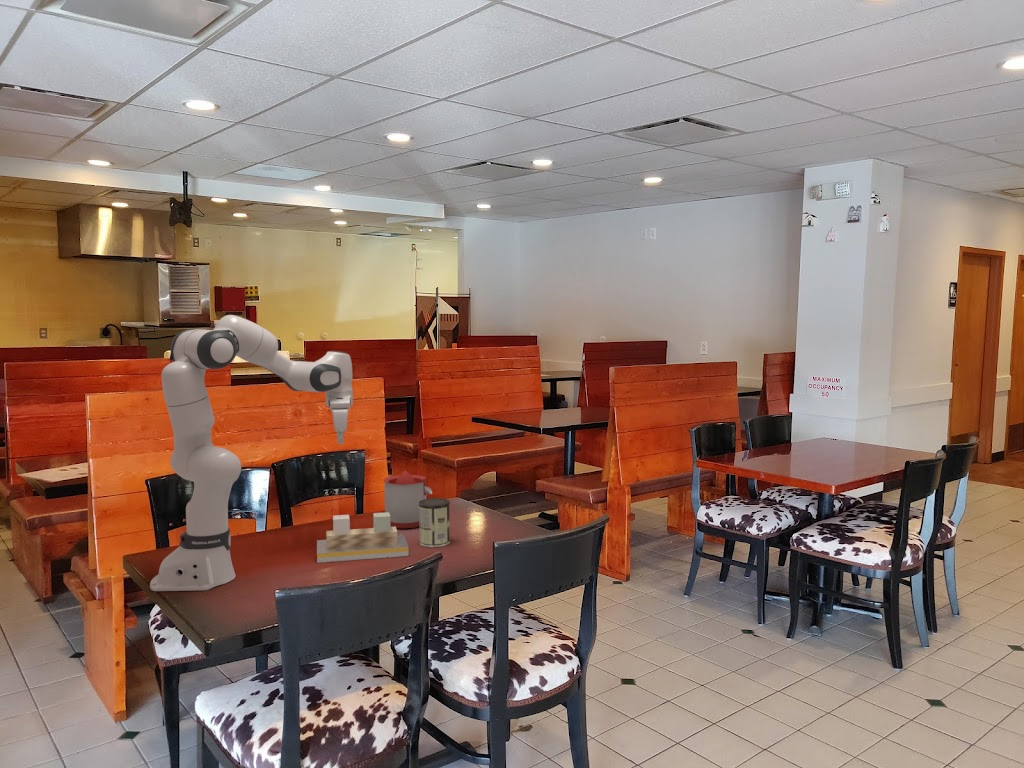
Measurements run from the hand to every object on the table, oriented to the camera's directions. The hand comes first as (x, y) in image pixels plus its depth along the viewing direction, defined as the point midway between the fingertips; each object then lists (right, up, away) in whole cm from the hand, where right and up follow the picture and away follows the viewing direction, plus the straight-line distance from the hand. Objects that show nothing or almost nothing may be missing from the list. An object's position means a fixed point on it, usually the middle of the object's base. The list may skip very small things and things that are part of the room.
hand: (340, 441), depth 253 cm
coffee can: (+31, -34, +3) cm, 46 cm away
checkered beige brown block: (+9, -32, -8) cm, 34 cm away
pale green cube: (+15, -28, -7) cm, 32 cm away
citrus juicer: (+19, -32, +24) cm, 45 cm away
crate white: (+3, -28, -10) cm, 30 cm away
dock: (+9, -35, -8) cm, 37 cm away
